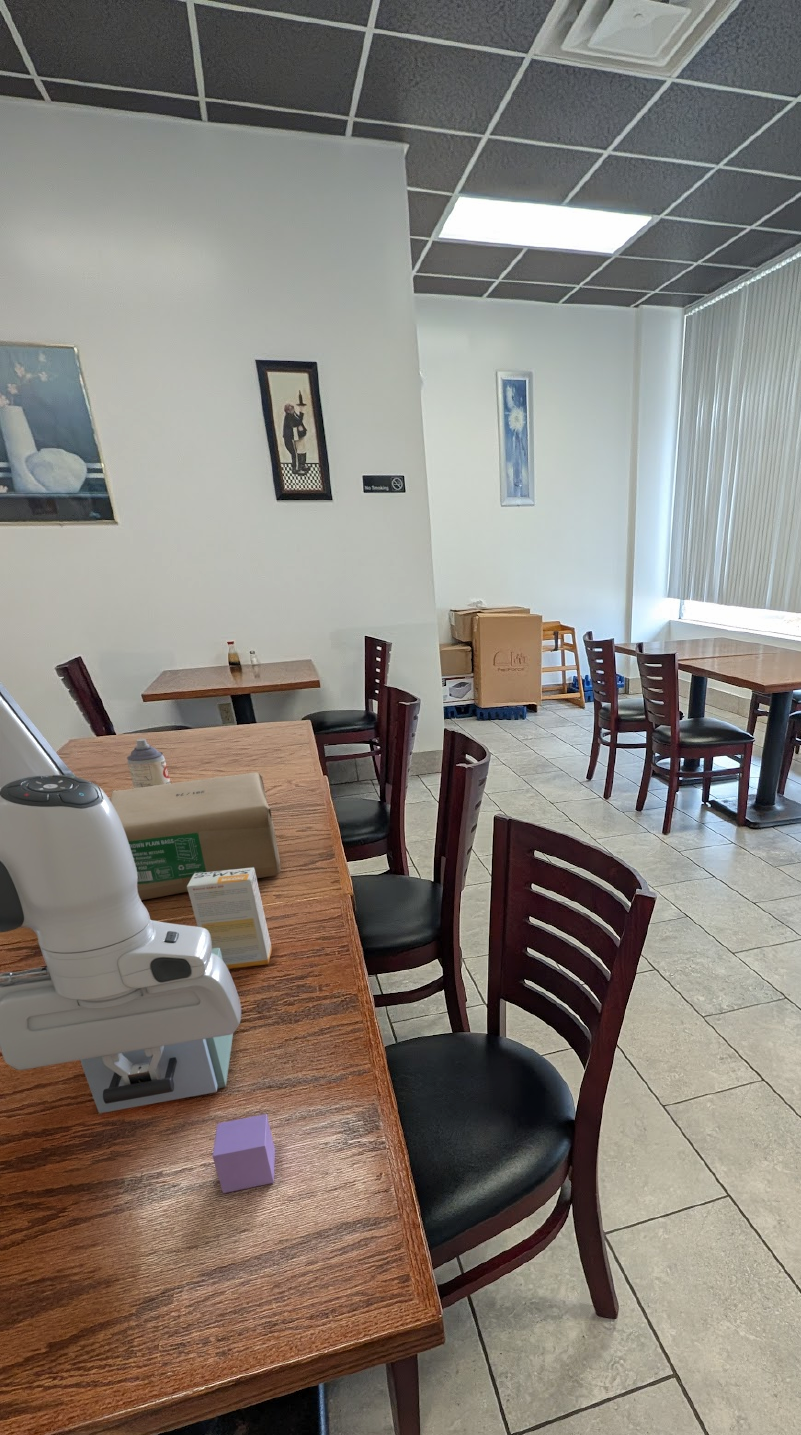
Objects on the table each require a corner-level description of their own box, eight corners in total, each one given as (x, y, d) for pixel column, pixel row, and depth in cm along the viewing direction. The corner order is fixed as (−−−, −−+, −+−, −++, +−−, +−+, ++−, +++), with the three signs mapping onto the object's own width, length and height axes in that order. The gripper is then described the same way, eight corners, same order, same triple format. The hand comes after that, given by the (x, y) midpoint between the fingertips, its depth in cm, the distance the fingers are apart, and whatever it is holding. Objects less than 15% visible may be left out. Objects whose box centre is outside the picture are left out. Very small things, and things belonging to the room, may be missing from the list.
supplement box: (273, 949, 109) (256, 865, 103) (269, 965, 105) (251, 879, 99) (213, 955, 108) (193, 871, 102) (207, 972, 104) (185, 885, 98)
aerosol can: (186, 836, 156) (163, 740, 147) (151, 844, 152) (125, 745, 143) (178, 828, 161) (155, 734, 152) (144, 835, 157) (119, 739, 149)
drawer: (212, 1122, 75) (194, 1058, 71) (86, 1146, 72) (62, 1081, 69) (227, 1022, 91) (213, 966, 87) (125, 1039, 88) (107, 982, 85)
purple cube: (222, 1193, 67) (212, 1156, 65) (226, 1159, 71) (217, 1123, 69) (273, 1182, 68) (264, 1145, 66) (275, 1149, 72) (266, 1113, 70)
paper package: (119, 907, 124) (95, 827, 118) (129, 857, 146) (110, 786, 140) (286, 879, 133) (272, 803, 127) (273, 835, 155) (260, 768, 148)
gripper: (-40, 995, 62) (15, 1125, 68) (220, 956, 67) (250, 1081, 73) (-13, 960, 68) (36, 1083, 74) (225, 926, 72) (253, 1045, 78)
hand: (144, 1082), depth 73 cm, fingers closed
